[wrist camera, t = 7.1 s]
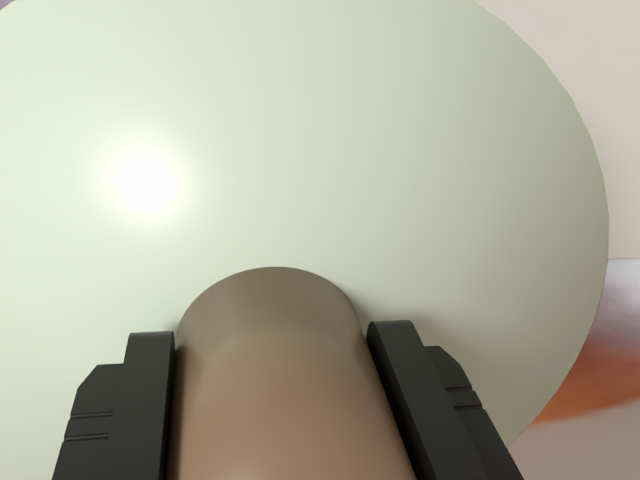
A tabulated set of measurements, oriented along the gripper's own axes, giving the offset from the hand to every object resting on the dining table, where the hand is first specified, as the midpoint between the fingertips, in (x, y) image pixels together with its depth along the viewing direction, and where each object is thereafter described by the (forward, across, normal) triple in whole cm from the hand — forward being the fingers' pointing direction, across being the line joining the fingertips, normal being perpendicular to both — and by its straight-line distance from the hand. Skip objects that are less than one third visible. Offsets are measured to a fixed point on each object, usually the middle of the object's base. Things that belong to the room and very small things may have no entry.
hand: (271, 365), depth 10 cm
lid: (+2, 0, 0) cm, 2 cm away
